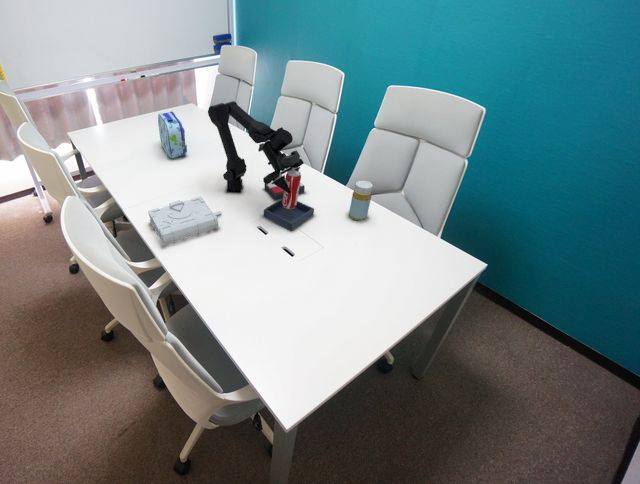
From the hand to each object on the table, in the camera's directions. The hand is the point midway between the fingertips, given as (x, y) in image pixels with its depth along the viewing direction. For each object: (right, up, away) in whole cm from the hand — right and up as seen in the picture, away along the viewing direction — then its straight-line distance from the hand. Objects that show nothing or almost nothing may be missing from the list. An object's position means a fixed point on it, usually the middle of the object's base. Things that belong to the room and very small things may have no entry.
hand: (294, 190), depth 133 cm
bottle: (+27, -10, +8) cm, 30 cm away
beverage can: (-1, -6, +5) cm, 8 cm away
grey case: (-42, -14, +6) cm, 44 cm away
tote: (-1, -10, +9) cm, 13 cm away
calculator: (-1, +1, +25) cm, 25 cm away
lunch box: (-59, +27, +65) cm, 92 cm away
